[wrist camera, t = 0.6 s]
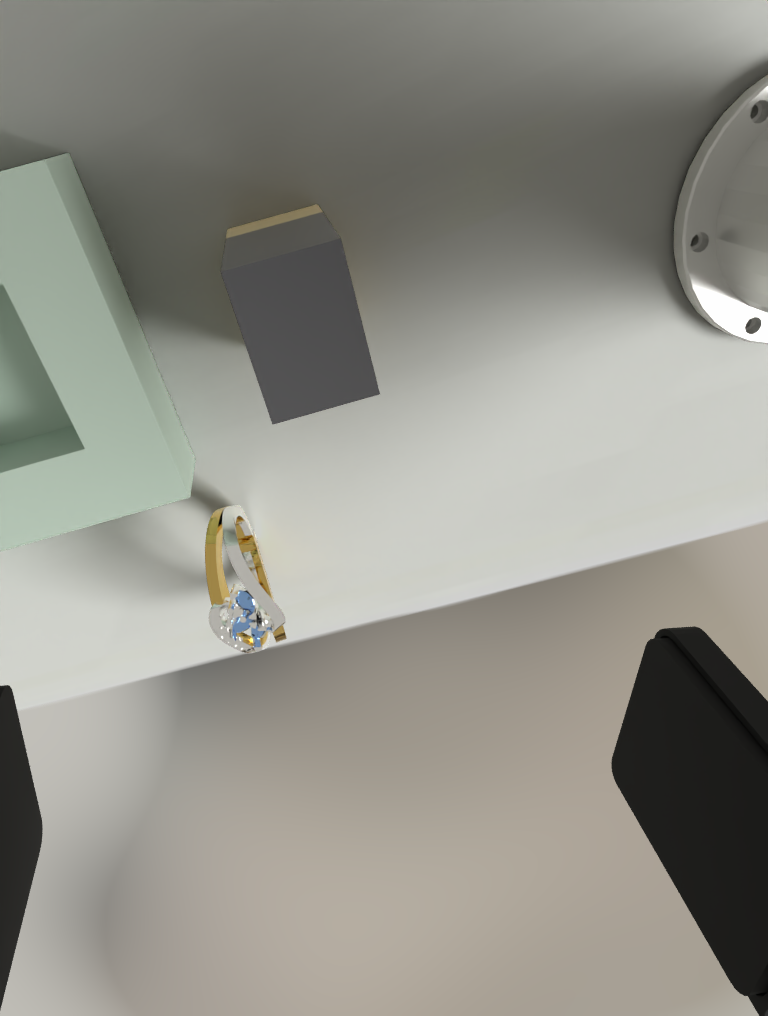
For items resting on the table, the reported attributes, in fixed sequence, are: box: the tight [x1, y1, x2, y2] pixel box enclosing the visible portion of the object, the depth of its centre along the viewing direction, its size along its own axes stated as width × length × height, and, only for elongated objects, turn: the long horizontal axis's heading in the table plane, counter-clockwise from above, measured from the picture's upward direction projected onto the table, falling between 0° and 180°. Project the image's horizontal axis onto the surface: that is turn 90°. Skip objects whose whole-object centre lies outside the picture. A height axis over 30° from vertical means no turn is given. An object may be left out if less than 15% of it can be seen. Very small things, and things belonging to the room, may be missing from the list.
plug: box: [221, 204, 380, 424], centre depth 29 cm, size 4×6×9 cm
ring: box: [205, 505, 286, 653], centre depth 35 cm, size 7×3×8 cm, turn 11°
